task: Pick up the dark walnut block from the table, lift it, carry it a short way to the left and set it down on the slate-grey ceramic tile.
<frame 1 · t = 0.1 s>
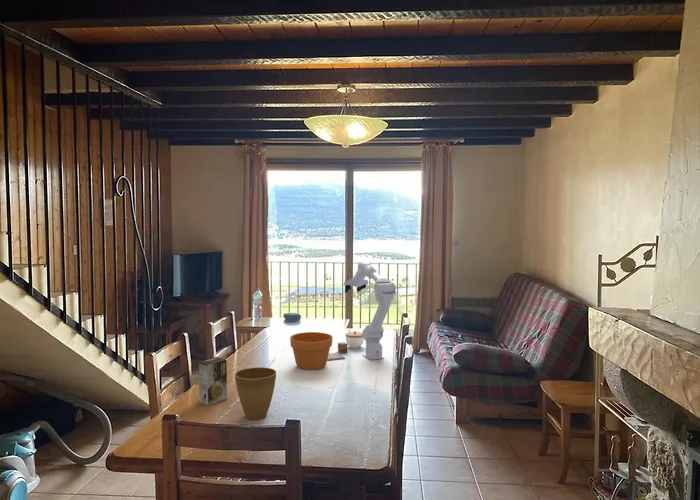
hand: (351, 291, 285), 32 cm above the table, tool tilted 50°, fingers open, 7 cm apart
walnut block: (342, 352, 271), on the table
coffee box: (213, 400, 194), on the table
plant pot: (255, 416, 179), on the table
slate tile: (332, 357, 260), on the table
flower pot: (311, 366, 243), on the table
lidded jar: (354, 347, 282), on the table
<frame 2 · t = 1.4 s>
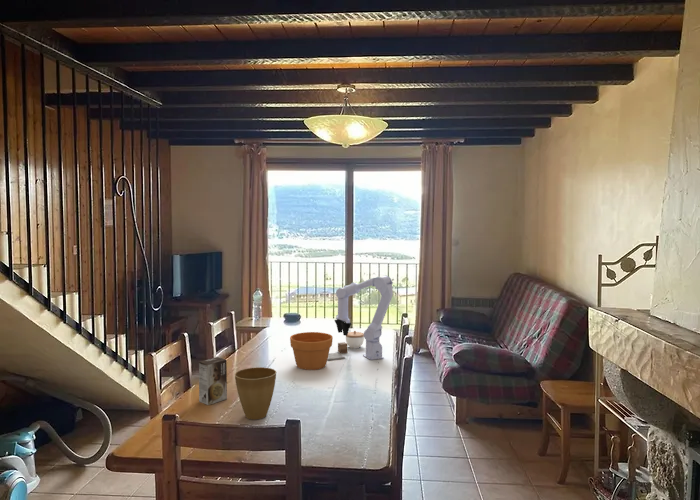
hand: (342, 333, 270), 10 cm above the table, tool pointing down, fingers open, 7 cm apart
nothing on the table moved.
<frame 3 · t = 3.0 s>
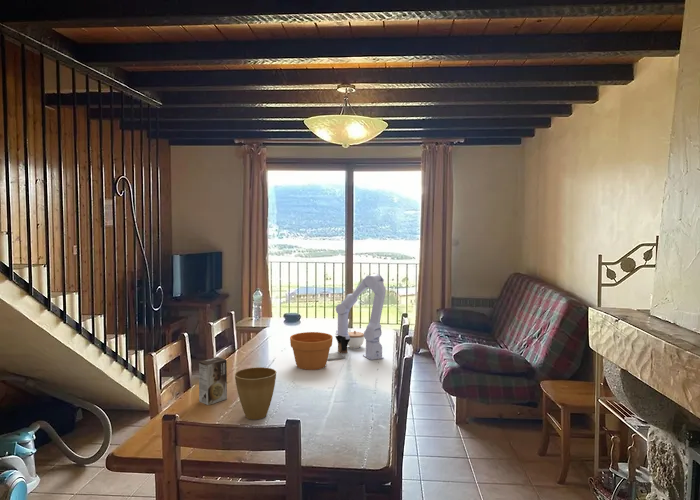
hand: (342, 349, 270), 1 cm above the table, tool pointing down, fingers closed on walnut block, 4 cm apart
walnut block: (342, 352, 271), on the table, touching gripper
everything else where it was.
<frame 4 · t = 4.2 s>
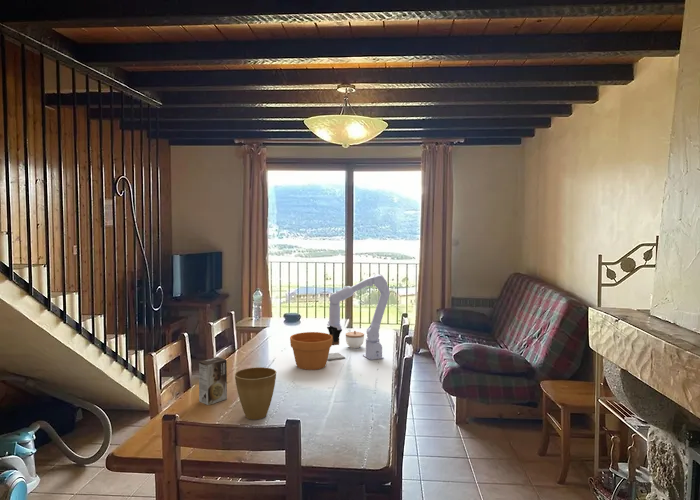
hand: (334, 340, 261), 8 cm above the table, tool pointing down, fingers closed on walnut block, 4 cm apart
walnut block: (334, 344, 261), point 7 cm above the table, touching gripper
everything else where it was.
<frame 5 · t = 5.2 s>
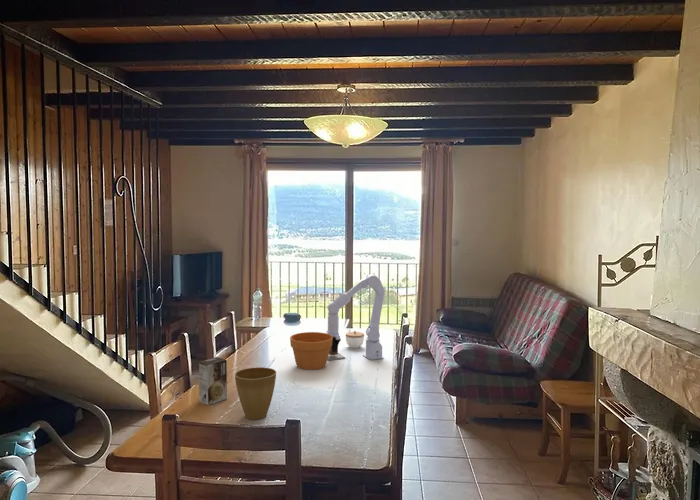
hand: (332, 350, 259), 4 cm above the table, tool pointing down, fingers closed on walnut block, 4 cm apart
walnut block: (332, 353, 260), point 2 cm above the table, touching gripper
everything else where it was.
when the fingers open (3 cm above the table, at t = 5.8 s): walnut block stays where it is, resting on slate tile.
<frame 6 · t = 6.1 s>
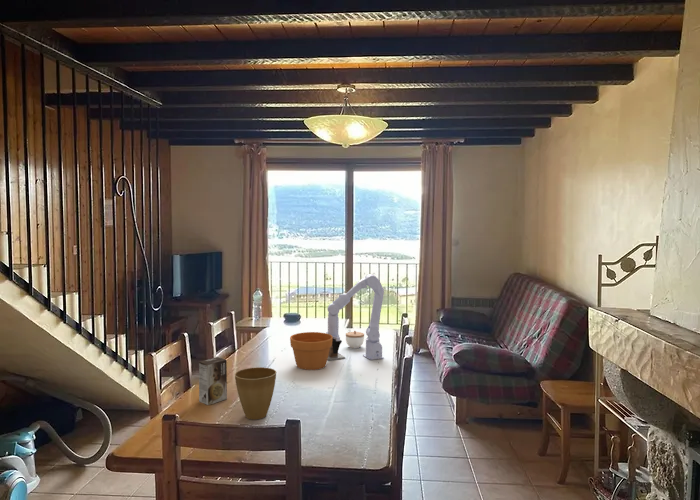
hand: (332, 351, 259), 3 cm above the table, tool pointing down, fingers open, 7 cm apart
walnut block: (332, 355, 260), point 1 cm above the table, touching slate tile
everything else where it was.
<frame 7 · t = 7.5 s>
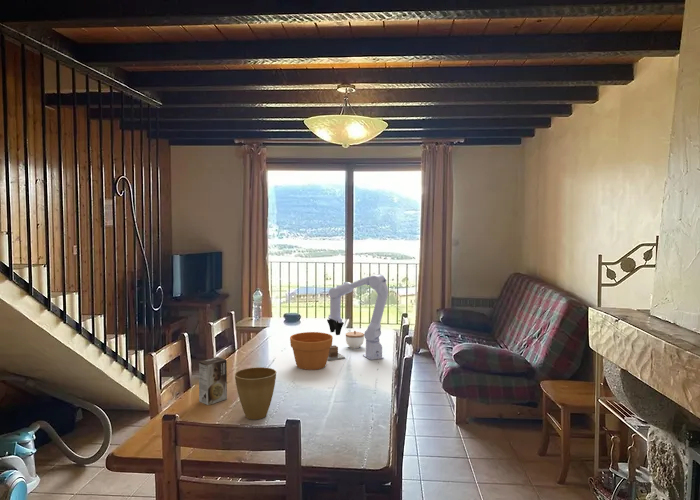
hand: (335, 333, 270), 10 cm above the table, tool pointing down, fingers open, 7 cm apart
nothing on the table moved.
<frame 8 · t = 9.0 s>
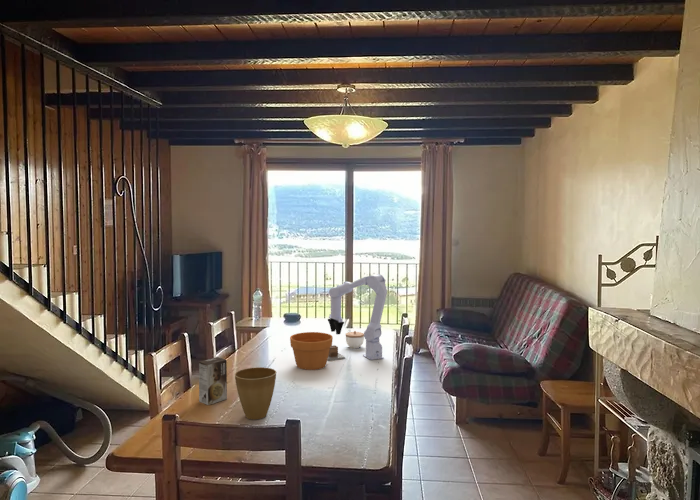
hand: (335, 332, 272), 10 cm above the table, tool pointing down, fingers open, 7 cm apart
nothing on the table moved.
at the end: walnut block inside the target area on the slate tile (0.0 cm from its centre), point 0.8 cm above the slate tile's base; walnut block tilted 0°; the gripper is holding nothing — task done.
